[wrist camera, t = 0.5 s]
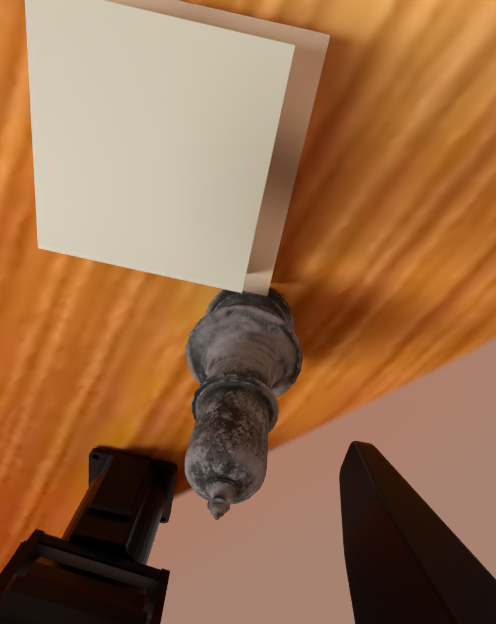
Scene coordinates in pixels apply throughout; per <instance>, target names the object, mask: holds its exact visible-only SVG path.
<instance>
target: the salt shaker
mask: <svg viewBox="0 0 496 624" xmlns="http://www.w3.org/2000/svg"><path fill="white" fill-rule="evenodd" d="M186 359H187V362H188V365H189V369H190V372H191V373H192V375H193V376H194V378H195V379H196V381H197V382H198V383H199V384H200V386H199V387H198V389H197V390H196V391H195V394H194V397H193V400H192V412H193V416H194V419H195V421H196V422H195V426H194V429H193V432H192V436H191V439H190V442H189V446H188V449H187V452H186V456H185V474H186V477H187V480H188V482H189V484H190V485H191V487H192V488H193V490H194V491H195V492H196V493H198V495H200V496H201V497H202V498H204V499H206V500H208V501H209V502H208V508H209V510H210V511H211V514H212V515H213V516H214V518H215V519H216V520H218V519H219V518H220V517H222V516H223V515H224V514H225V513H226V512H227V511H229V509H230V505H229V504H236V503H240V502H243V501H245V500H247V499H248V498H250V497H251V496H252V495H253V494H254V493H255V492H257V491H258V490H259V489H260V487H261V485H262V483H263V481H264V478H265V475H266V469H267V450H268V433H269V432H270V431H271V430H272V429H273V428H274V426H275V424H276V422H277V420H278V413H279V408H278V403H277V399H276V398H277V397H278V396H280V395H282V394H283V393H285V392H286V391H287V390H288V389H289V388H290V387H291V386H292V385H293V384H294V383H295V381H296V379H297V377H298V375H299V373H300V371H301V366H302V359H303V356H302V350H301V344H300V342H299V339H298V337H297V335H296V333H295V331H294V320H293V314H292V312H291V310H290V308H289V306H288V304H287V303H286V302H285V300H284V299H283V298H282V297H281V296H280V295H279V294H277V293H276V292H274V291H273V290H271V289H269V291H268V295H267V296H264V295H260V294H255V293H250V292H246V291H242V293H239V292H235V291H230V290H226V289H225V290H223V291H222V292H221V293H219V294H218V295H217V296H216V297H215V298H214V299H213V300H212V302H211V303H210V305H209V306H208V309H207V312H206V315H205V317H203V318H202V319H201V320H200V321H198V323H197V324H196V326H195V327H194V329H193V330H192V331H191V333H190V336H189V339H188V342H187V345H186Z"/></svg>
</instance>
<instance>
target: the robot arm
mask: <svg viewBox="0 0 496 624" xmlns="http://www.w3.org/2000/svg"><path fill="white" fill-rule="evenodd" d="M177 470H178V467H177V466H176V465H175V464H173V463H168V462H164V461H159V460H154V459H149V458H144V457H139V456H135V455H130V454H125V453H120V452H115V451H110V450H105V449H101V448H93V449H92V451H91V452H90V454H89V488H88V490H87V492H86V494H85V496H84V497H83V499H82V501H81V503H80V505H79V507H78V508H77V510H76V512H75V514H74V516H73V518H72V520H71V521H70V523H69V525H68V527H67V529H66V531H65V532H64V534H63V536H62V538H58V537H55V536H52V535H48V534H45V531H42V530H39V529H35V531H34V532H33V533H32V535H31V536H30V538H29V539H28V540H27V541H24V542H21V544H20V545H19V547H18V549H17V550H16V552H15V553H14V555H13V556H12V558H11V559H10V561H9V562H8V564H7V565H6V567H5V568H4V569H3V571H2V572H1V573H0V624H160V622H161V617H162V611H163V606H164V600H165V595H166V590H167V585H168V579H169V574H170V571H169V570H166V569H161V570H160V569H156V568H153V567H150V566H147V565H146V564H147V561H148V558H149V555H150V551H151V548H152V545H153V542H154V538H155V535H156V532H157V529H158V525H159V522H160V523H167V522H168V521H169V518H170V513H171V507H172V501H173V495H174V489H175V483H176V477H177ZM339 478H340V479H339V481H340V495H341V496H340V497H341V513H342V529H343V545H344V556H345V563H346V570H347V576H348V582H349V588H350V595H351V601H352V606H353V613H354V619H355V624H496V579H495V578H494V577H493V576H492V575H491V574H490V572H489V571H487V569H486V568H485V567H484V566H483V565H482V564H481V563H480V561H479V560H478V559H477V558H476V557H475V556H474V555H473V554H472V553H471V552H470V551H469V549H468V548H467V547H466V546H465V545H464V544H463V543H462V542H461V541H460V539H459V538H458V537H457V536H456V535H455V534H454V533H453V532H452V531H451V530H450V528H449V527H448V526H447V525H446V524H445V523H444V522H443V521H442V520H441V519H440V517H439V516H438V515H437V514H436V513H435V512H434V511H433V510H432V509H431V508H430V507H429V505H428V504H427V503H426V502H425V501H424V500H423V499H422V498H421V497H420V496H419V494H418V493H417V492H416V491H415V490H414V489H413V488H412V487H411V486H410V485H409V484H408V482H407V481H406V480H405V479H404V478H403V477H402V476H401V475H400V474H399V473H398V471H396V469H395V468H394V467H393V466H392V465H391V464H390V463H389V461H388V460H386V458H385V457H384V456H383V455H382V454H381V453H380V452H379V450H378V449H377V448H376V447H375V446H373V445H372V444H370V443H365V442H360V441H353V442H352V443H351V444H350V446H349V449H348V451H347V454H346V456H345V459H344V461H343V464H342V466H341V470H340V477H339Z"/></svg>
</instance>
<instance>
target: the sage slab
mask: <svg viewBox="0 0 496 624" xmlns="http://www.w3.org/2000/svg"><path fill="white" fill-rule="evenodd" d="M25 12H26V31H27V50H28V68H29V87H30V106H31V125H32V143H33V162H34V181H35V200H36V218H37V237H38V248H40V249H44V250H49V251H53V252H58V253H62V254H67V255H72V256H76V257H81V258H85V259H90V260H94V261H99V262H103V263H108V264H112V265H117V266H121V267H126V268H130V269H135V270H140V271H144V272H149V273H153V274H158V275H162V276H167V277H171V278H176V279H180V280H185V281H189V282H194V283H199V284H203V285H208V286H212V287H217V288H221V289H226V290H230V291H235V292H239V293H242V291H243V286H244V282H245V278H246V274H247V269H248V265H249V260H250V255H251V251H252V246H253V242H254V237H255V232H256V228H257V223H258V218H259V214H260V209H261V205H262V200H263V195H264V191H265V186H266V181H267V177H268V172H269V167H270V163H271V158H272V154H273V149H274V144H275V140H276V135H277V130H278V126H279V121H280V117H281V112H282V107H283V103H284V98H285V93H286V89H287V84H288V79H289V75H290V70H291V66H292V61H293V55H294V50H295V45H292V44H287V43H283V42H279V41H274V40H270V39H266V38H262V37H257V36H253V35H249V34H245V33H240V32H236V31H232V30H228V29H223V28H219V27H215V26H211V25H206V24H202V23H198V22H194V21H189V20H185V19H181V18H177V17H172V16H168V15H164V14H160V13H155V12H151V11H147V10H143V9H138V8H134V7H130V6H125V5H121V4H117V3H113V2H108V1H104V0H25Z"/></svg>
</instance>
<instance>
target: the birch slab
mask: <svg viewBox="0 0 496 624" xmlns="http://www.w3.org/2000/svg"><path fill="white" fill-rule="evenodd" d="M104 1H108V2H113V3H117V4H121V5H125V6H130V7H134V8H138V9H143V10H147V11H151V12H155V13H160V14H164V15H168V16H172V17H177V18H181V19H185V20H189V21H194V22H198V23H202V24H206V25H211V26H215V27H219V28H223V29H228V30H232V31H236V32H240V33H245V34H249V35H253V36H257V37H262V38H266V39H270V40H274V41H279V42H283V43H287V44H292V45H295V50H294V55H293V61H292V66H291V70H290V75H289V79H288V84H287V89H286V93H285V98H284V103H283V107H282V112H281V117H280V121H279V126H278V130H277V135H276V140H275V144H274V149H273V154H272V158H271V163H270V167H269V172H268V177H267V181H266V186H265V191H264V195H263V200H262V205H261V209H260V214H259V218H258V223H257V228H256V232H255V237H254V242H253V246H252V251H251V255H250V260H249V265H248V269H247V274H246V278H245V282H244V286H243V291H246V292H250V293H255V294H260V295H264V296H267V295H268V291H269V286H270V282H271V278H272V274H273V270H274V266H275V262H276V258H277V253H278V249H279V245H280V241H281V237H282V233H283V229H284V225H285V220H286V216H287V212H288V208H289V204H290V200H291V196H292V192H293V187H294V183H295V179H296V175H297V171H298V167H299V163H300V159H301V155H302V150H303V146H304V142H305V138H306V134H307V130H308V126H309V122H310V117H311V113H312V109H313V105H314V101H315V97H316V93H317V89H318V84H319V80H320V76H321V72H322V68H323V64H324V60H325V56H326V52H327V47H328V43H329V39H330V35H329V34H325V33H320V32H316V31H311V30H307V29H302V28H298V27H294V26H289V25H285V24H280V23H276V22H272V21H267V20H263V19H258V18H254V17H249V16H245V15H241V14H236V13H232V12H227V11H223V10H219V9H214V8H210V7H205V6H201V5H196V4H192V3H188V2H183V1H179V0H104Z"/></svg>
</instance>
